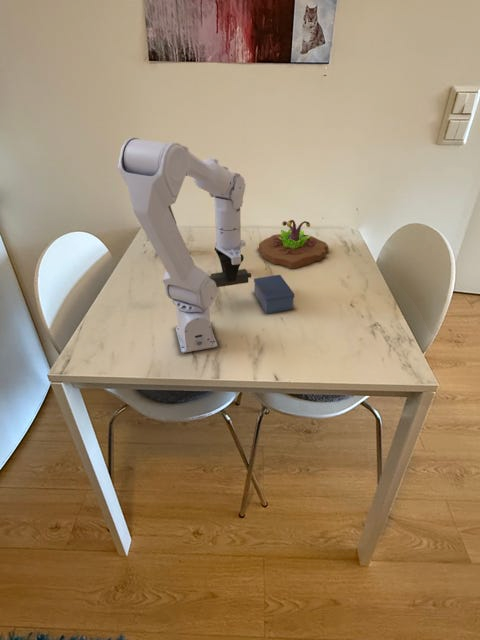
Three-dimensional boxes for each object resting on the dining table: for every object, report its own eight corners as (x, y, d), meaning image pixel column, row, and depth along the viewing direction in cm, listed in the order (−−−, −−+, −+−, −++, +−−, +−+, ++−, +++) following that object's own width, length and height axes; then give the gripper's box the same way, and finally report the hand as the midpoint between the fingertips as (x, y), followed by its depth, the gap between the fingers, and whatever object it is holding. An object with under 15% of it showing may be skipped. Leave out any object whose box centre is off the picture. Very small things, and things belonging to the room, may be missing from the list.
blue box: (293, 309, 103) (294, 294, 100) (265, 314, 101) (266, 298, 98) (279, 289, 111) (280, 274, 108) (253, 293, 109) (253, 278, 106)
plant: (247, 251, 129) (247, 217, 123) (289, 234, 140) (291, 202, 134) (295, 274, 117) (297, 237, 111) (336, 253, 128) (341, 219, 121)
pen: (249, 277, 104) (249, 268, 103) (252, 282, 102) (252, 272, 101) (203, 284, 102) (202, 274, 100) (205, 289, 100) (204, 279, 98)
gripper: (254, 236, 89) (253, 289, 97) (236, 213, 100) (237, 262, 108) (222, 240, 87) (224, 294, 95) (208, 216, 99) (211, 266, 106)
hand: (229, 277), depth 101 cm, fingers closed on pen, 2 cm apart
